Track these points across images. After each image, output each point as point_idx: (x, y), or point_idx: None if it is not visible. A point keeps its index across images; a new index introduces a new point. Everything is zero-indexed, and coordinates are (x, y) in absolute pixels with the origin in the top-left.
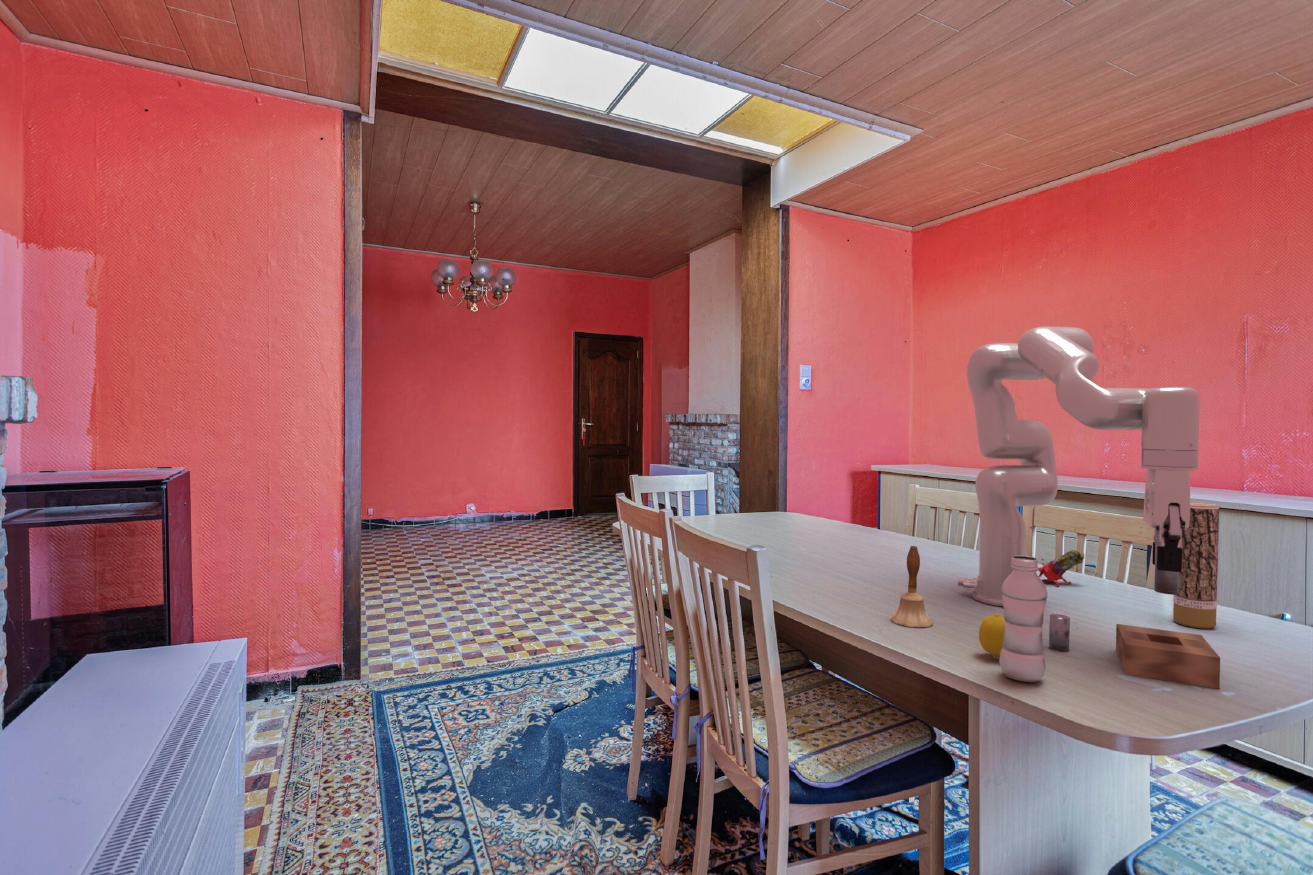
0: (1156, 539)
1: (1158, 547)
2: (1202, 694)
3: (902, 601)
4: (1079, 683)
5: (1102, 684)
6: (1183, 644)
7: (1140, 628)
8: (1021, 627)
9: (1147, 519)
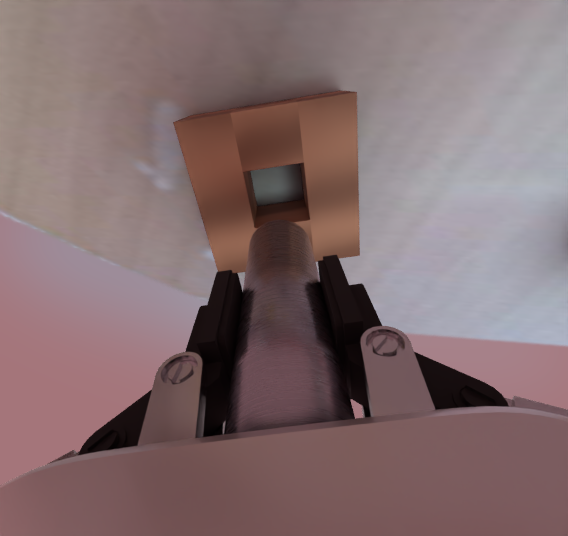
0: (260, 362)
1: (199, 341)
2: (180, 228)
3: None
4: (41, 24)
5: (83, 74)
6: None
7: (341, 150)
8: None
9: (222, 495)
